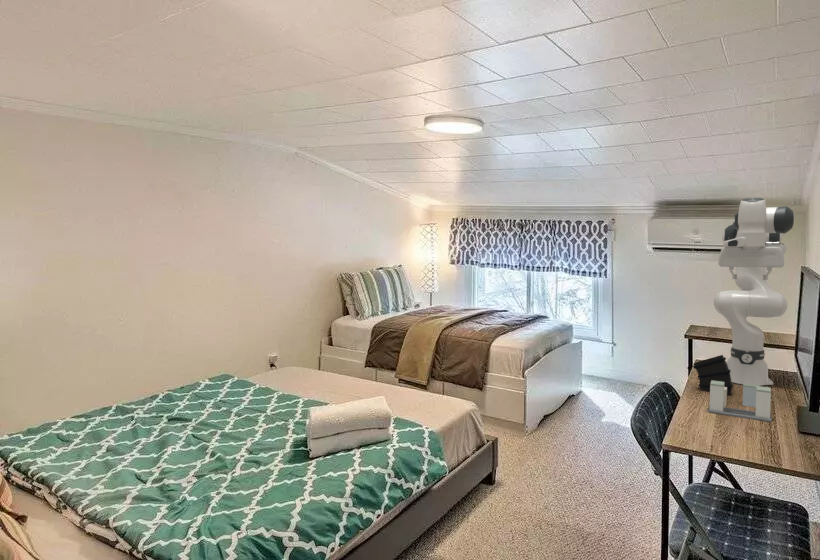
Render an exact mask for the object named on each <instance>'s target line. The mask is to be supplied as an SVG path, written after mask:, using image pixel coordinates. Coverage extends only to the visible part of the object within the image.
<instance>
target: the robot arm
mask: <svg viewBox="0 0 820 560" xmlns="http://www.w3.org/2000/svg"><path fill="white" fill-rule="evenodd" d="M795 218H796V217H795V213H794V210H793V209H791V208H790V207H788V206H787V205H784V206H777V207H776V206H775V207H771V206H770V207H767V203H766V199H765V198H762V197H748V198H744V199H741V200H740V203H739V208H738V211H737V212H736V213H735V214H734V222H732V223H731V224H729V225H728V226H727V227H726V228H725V229H724V230H723V233H722V235H721V236H722V246H723V248H721V250H720V253H719V257H718V263H717V264H718V265H719V267H722V268H723V267H724V268H726V267H727V268H728V270H729V272H730V273H731V274H732V275H731V277H732V279H731V280H734V281H735V285H736V286H737V287H738V288H739V289H740V290H739V289H730V290H722V291H718V292H717V294H716V295H715V297H714V299H713V306H714V308H715V310H716V312H717V313H719V314H720V315H721V316H723V317H724V318H725V319H726V321H727V322H728V323H729V326H730V328H731V334H732V335H731V337H732V343H731V345H732V346H731V347H730V357H729V358H727V359H726V360H725V361H726V363H727V365H728V369H729V370H730V371H731V372H730V376H731V383H734V384H738V385H739V384H740V385H743V383H749V384H758V385H760V386H773V385H774V382H773V380H772V379H770V377H769V364H768V363H767V362H766V361H765V354H766V353H765V350H764V345H765V344H764V341H765V340H764V339H765V334H764V331H763V329H761V328H760V327H758V326H757V325H755V324H752V323H751V322H749V321H748V320H747V317H751V318H752V317H753V318H769V319H770V318H777V317H778V318H779V317H782V316H783V315H784V314H786V312H787V309H788V301H787V298H786V297H785V296H784V295H783V294H782V293H781V292H778V291H777V290H775V289H773V288H772V287H771V286H770V285H769V283H768V279H769V276H770V274H771V273H772V272H773V271H772V270H773V268H779V269H780V268H783V267H784V266H785V256H784V254H785V252H786V249H787V247H786V245H785V244H784V243H782V239H783V234H787V233H788V232H790V231H791V230H792V229H793V227H794V224H795ZM734 268H735V269H734ZM734 270H735V272H734ZM766 271H767V272H766Z"/></svg>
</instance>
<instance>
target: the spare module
mask: <svg viewBox="0 0 820 560" xmlns="http://www.w3.org/2000/svg"><path fill="white" fill-rule="evenodd" d="M727 397H728V395H727V387H724V407H727V399H728V398H727Z"/></svg>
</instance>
